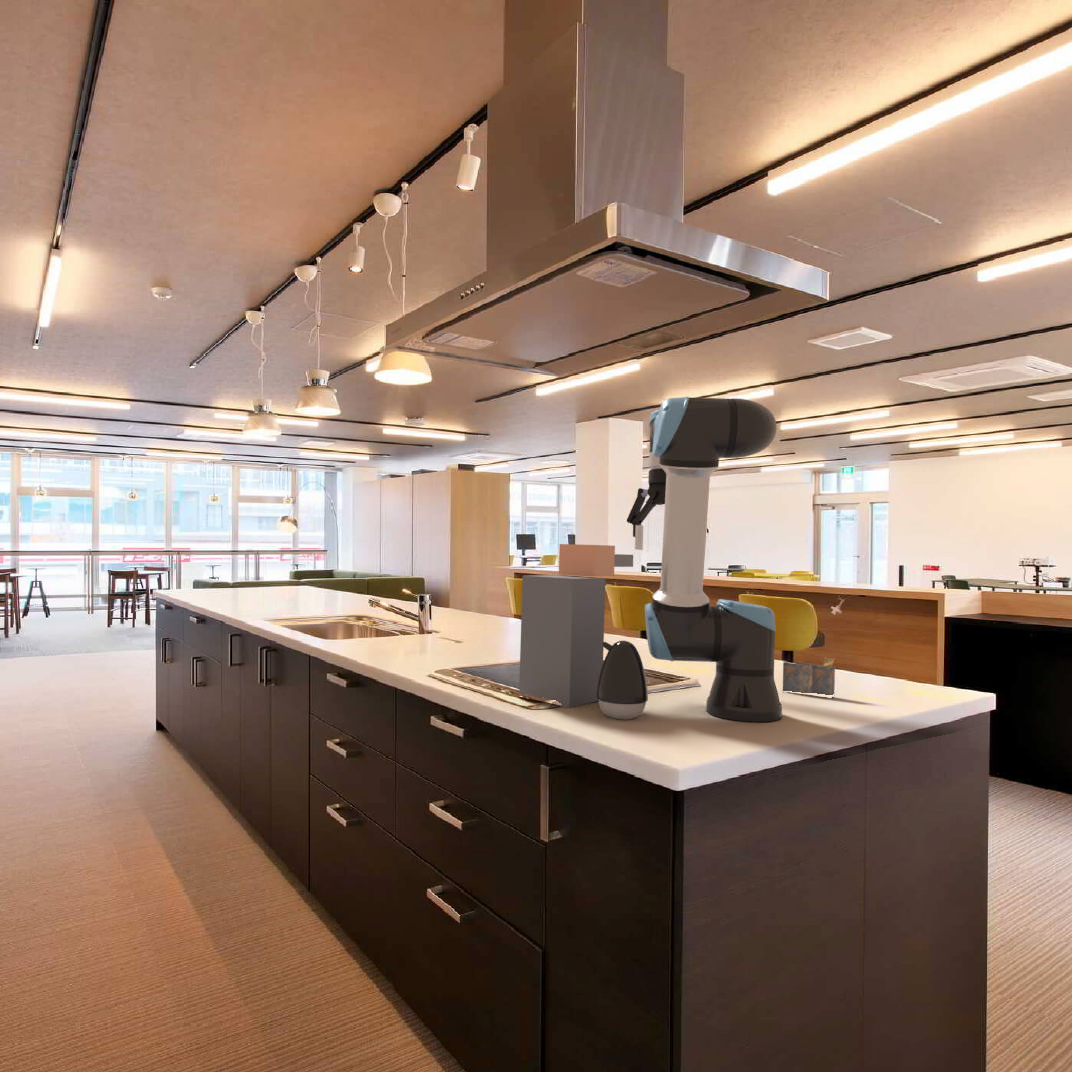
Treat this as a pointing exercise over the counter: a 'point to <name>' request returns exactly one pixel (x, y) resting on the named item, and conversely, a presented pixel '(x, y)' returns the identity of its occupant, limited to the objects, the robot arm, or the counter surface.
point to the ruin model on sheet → (809, 677)
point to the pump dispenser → (622, 682)
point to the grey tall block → (562, 637)
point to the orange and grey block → (591, 560)
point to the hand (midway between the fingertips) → (661, 550)
